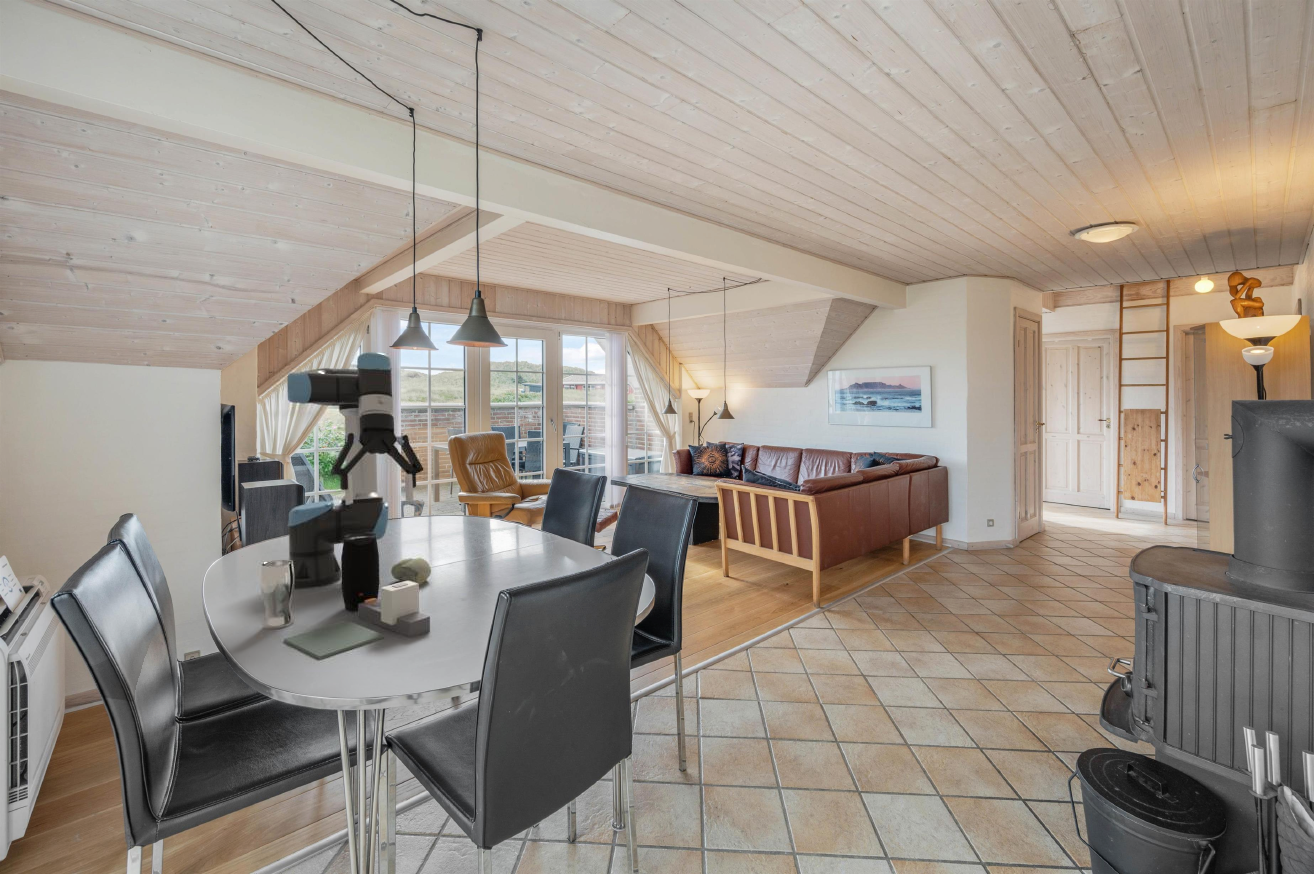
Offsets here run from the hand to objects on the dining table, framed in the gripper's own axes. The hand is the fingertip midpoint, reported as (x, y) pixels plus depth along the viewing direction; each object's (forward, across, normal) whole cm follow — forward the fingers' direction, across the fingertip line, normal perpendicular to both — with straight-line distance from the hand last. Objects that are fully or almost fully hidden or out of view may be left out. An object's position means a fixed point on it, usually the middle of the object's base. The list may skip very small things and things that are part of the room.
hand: (380, 502), depth 137 cm
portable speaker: (+24, +3, +26) cm, 35 cm away
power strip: (+28, +4, +8) cm, 30 cm away
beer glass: (+25, -16, +26) cm, 40 cm away
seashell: (+20, +21, +38) cm, 48 cm away
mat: (+29, -9, +8) cm, 32 cm away
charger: (+27, +5, +5) cm, 28 cm away
